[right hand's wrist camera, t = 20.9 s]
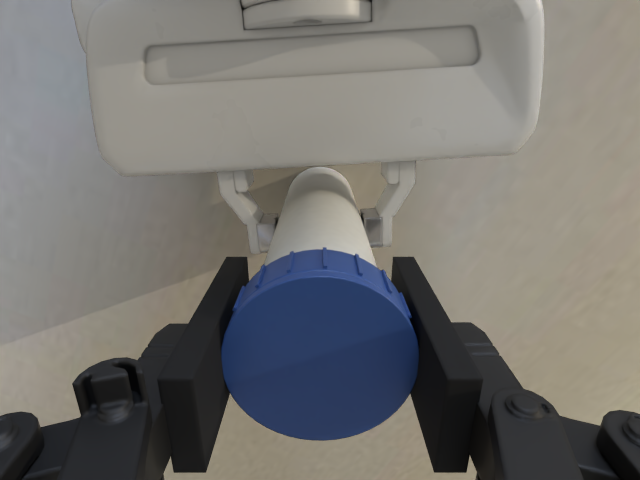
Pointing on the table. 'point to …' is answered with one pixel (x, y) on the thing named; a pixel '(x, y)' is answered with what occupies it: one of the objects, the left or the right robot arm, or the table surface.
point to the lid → (320, 346)
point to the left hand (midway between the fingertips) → (321, 246)
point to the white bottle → (320, 217)
